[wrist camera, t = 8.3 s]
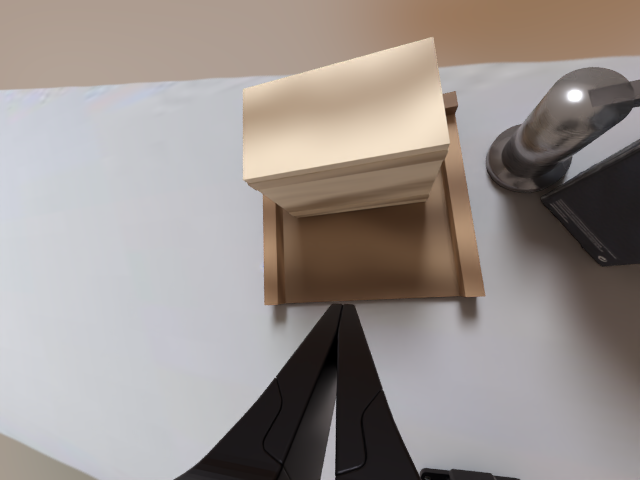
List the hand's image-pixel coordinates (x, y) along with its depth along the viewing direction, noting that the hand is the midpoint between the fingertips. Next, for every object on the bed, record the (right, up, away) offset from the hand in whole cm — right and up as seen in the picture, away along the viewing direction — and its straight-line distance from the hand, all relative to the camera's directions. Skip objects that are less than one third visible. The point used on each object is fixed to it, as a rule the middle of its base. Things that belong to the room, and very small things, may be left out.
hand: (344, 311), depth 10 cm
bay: (+3, +5, +13) cm, 14 cm away
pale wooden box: (+2, +8, +14) cm, 16 cm away
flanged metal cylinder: (+16, +9, +10) cm, 21 cm away
